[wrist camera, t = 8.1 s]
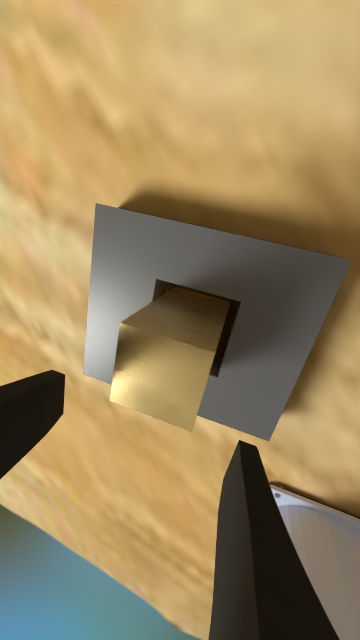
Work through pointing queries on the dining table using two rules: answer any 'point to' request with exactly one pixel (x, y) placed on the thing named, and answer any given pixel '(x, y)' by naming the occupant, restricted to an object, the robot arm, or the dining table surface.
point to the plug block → (168, 355)
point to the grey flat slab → (223, 280)
